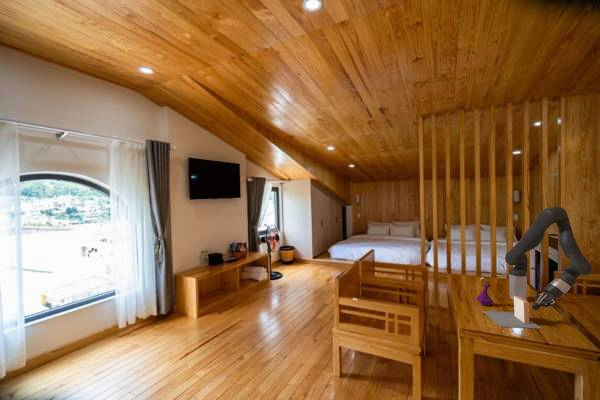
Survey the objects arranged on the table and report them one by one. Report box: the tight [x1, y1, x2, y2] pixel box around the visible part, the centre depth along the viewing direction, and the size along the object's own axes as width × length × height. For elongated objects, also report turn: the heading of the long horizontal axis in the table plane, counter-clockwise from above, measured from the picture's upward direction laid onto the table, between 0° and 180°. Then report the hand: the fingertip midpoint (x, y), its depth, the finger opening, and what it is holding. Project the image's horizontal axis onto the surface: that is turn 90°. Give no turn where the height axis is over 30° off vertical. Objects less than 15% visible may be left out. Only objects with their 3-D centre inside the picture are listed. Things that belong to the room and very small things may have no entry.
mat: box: [482, 310, 543, 330], centre depth 153 cm, size 20×20×1 cm
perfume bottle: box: [476, 276, 494, 307], centre depth 176 cm, size 8×8×18 cm
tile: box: [513, 296, 530, 323], centre depth 152 cm, size 9×2×12 cm, turn 169°
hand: (533, 309), depth 150 cm, fingers closed
